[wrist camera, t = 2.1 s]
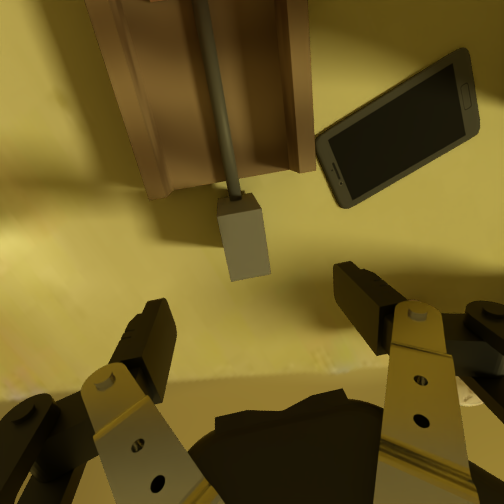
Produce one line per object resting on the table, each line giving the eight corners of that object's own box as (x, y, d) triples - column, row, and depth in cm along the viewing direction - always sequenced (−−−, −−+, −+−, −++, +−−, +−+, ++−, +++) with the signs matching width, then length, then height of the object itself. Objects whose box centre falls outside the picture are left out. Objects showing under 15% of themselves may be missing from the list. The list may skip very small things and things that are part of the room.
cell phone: (475, 132, 23) (483, 132, 22) (339, 211, 25) (343, 212, 24) (461, 45, 20) (469, 41, 20) (308, 140, 22) (311, 140, 21)
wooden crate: (52, -181, 14) (-21, -322, 10) (270, -206, 14) (289, -351, 10) (162, 189, 22) (149, 200, 18) (298, 165, 22) (316, 170, 18)
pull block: (116, -152, 14) (21, -417, 7) (223, -165, 14) (224, -434, 8) (213, 253, 24) (210, 294, 17) (275, 241, 24) (295, 277, 18)
